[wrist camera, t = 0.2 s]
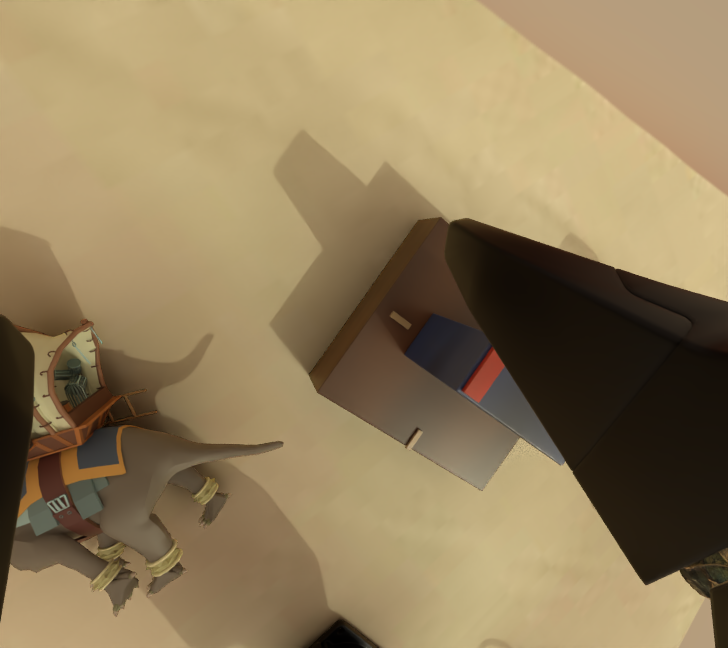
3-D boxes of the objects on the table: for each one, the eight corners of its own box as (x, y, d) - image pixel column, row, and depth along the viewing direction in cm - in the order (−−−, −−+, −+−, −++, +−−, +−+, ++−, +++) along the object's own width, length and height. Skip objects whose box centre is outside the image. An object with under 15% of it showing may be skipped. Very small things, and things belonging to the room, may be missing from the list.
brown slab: (551, 336, 30) (585, 347, 27) (458, 468, 29) (482, 494, 26) (419, 218, 25) (443, 215, 22) (307, 376, 25) (316, 395, 22)
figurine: (-100, 753, 17) (-509, 450, 12) (-6, 621, 23) (-257, 380, 18) (317, 520, 19) (117, 186, 14) (306, 454, 25) (161, 200, 20)
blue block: (518, 380, 26) (600, 420, 20) (492, 417, 26) (566, 469, 20) (432, 312, 23) (498, 336, 17) (403, 354, 23) (458, 393, 17)
